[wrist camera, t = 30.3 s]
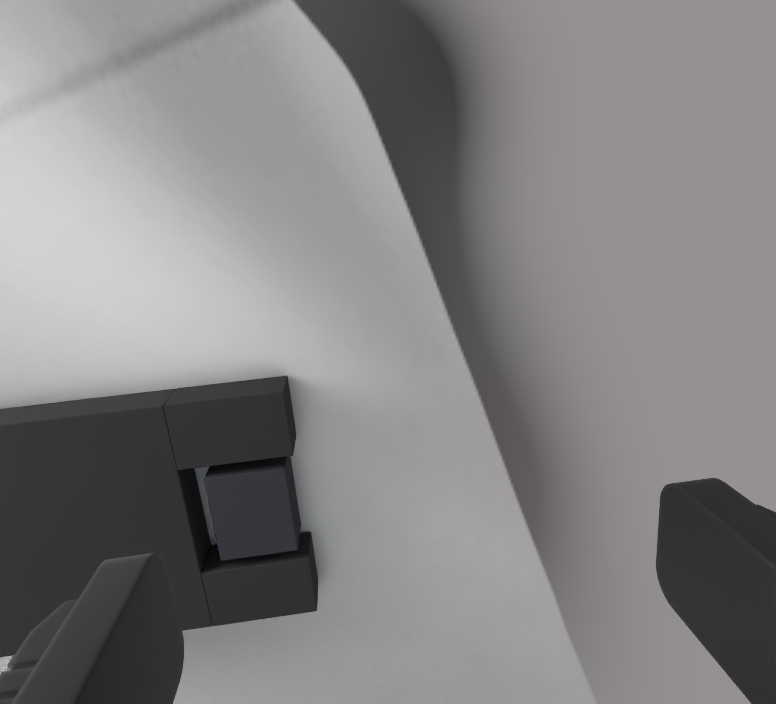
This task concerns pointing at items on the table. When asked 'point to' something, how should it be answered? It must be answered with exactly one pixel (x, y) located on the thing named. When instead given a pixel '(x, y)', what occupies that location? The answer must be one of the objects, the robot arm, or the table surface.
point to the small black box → (253, 507)
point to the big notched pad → (140, 501)
